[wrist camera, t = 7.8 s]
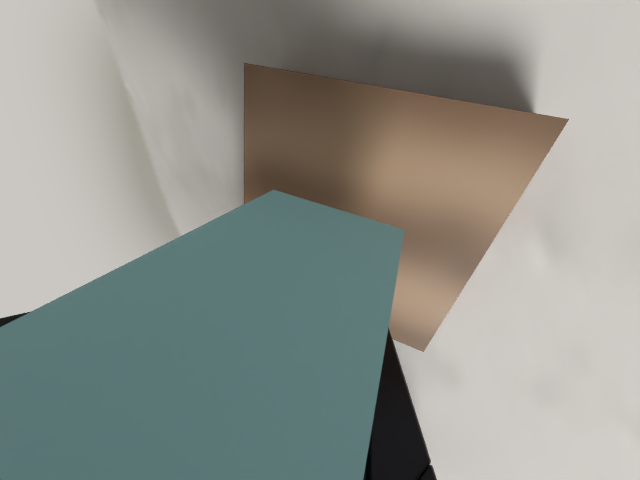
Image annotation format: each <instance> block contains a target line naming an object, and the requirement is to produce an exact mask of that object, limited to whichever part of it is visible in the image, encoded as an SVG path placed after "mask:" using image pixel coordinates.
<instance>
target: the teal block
mask: <svg viewBox="0 0 640 480" xmlns="http://www.w3.org/2000/svg"><path fill="white" fill-rule="evenodd" d="M404 231H405V230H404V229H401V228H397V227H394V226H391V225H387V224H384V223H381V222H378V221H374V220H371V219H368V218H365V217H361V216H358V215H355V214H351V213H348V212H345V211H342V210H338V209H335V208H332V207H329V206H325V205H322V204H319V203H315V202H312V201H309V200H306V199H302V198H299V197H296V196H293V195H289V194H286V193H283V192H279V191H276V190H272V191H270V192H268V193H266V194H264V195H262V196H260V197H258V198H256V199H254V200H252V201H250V202H248V203H246V204H244V205H242V206H240V207H238V208H236V209H234V210H232V211H230V212H228V213H226V214H224V215H222V216H220V217H218V218H216V219H214V220H212V221H210V222H208V223H206V224H204V225H203V226H201V227H199V228H197V229H195V230H193V231H191V232H189V233H187V234H185V235H183V236H181V237H179V238H177V239H175V240H173V241H171V242H169V243H167V244H165V245H163V246H161V247H159V248H157V249H155V250H153V251H151V252H149V253H147V254H145V255H143V256H141V257H139V258H137V259H135V260H133V261H131V262H129V263H127V264H125V265H123V266H121V267H119V268H117V269H115V270H113V271H111V272H109V273H107V274H105V275H103V276H101V277H99V278H97V279H95V280H93V281H91V282H89V283H87V284H85V285H83V286H81V287H79V288H78V289H75V290H73V291H72V292H70V293H68V294H65V295H63V296H61V297H59V298H58V299H56V300H54V301H52V302H50V303H48V304H46V305H44V306H42V307H40V308H38V309H36V310H34V311H32V312H30V313H28V314H26V315H24V316H22V317H20V318H18V319H16V320H14V321H12V322H10V323H8V324H6V325H4V326H2V327H0V479H1V480H363V478H364V472H365V466H366V460H367V454H368V448H369V442H370V436H371V430H372V424H373V418H374V412H375V406H376V400H377V394H378V388H379V382H380V376H381V370H382V364H383V358H384V352H385V346H386V340H387V334H388V328H389V322H390V316H391V310H392V304H393V298H394V292H395V286H396V279H397V273H398V267H399V261H400V255H401V249H402V243H403V237H404Z"/></svg>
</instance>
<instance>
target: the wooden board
mask: <svg viewBox="0 0 640 480" xmlns="http://www.w3.org/2000/svg"><path fill="white" fill-rule="evenodd" d="M568 120H569V119H564V118H559V117H553V116H547V115H541V114H536V113H530V112H524V111H518V110H513V109H507V108H501V107H495V106H489V105H484V104H478V103H472V102H466V101H461V100H455V99H449V98H443V97H438V96H432V95H426V94H420V93H414V92H409V91H403V90H397V89H391V88H386V87H380V86H374V85H368V84H363V83H357V82H351V81H345V80H339V79H334V78H328V77H322V76H316V75H311V74H305V73H299V72H293V71H288V70H282V69H276V68H270V67H264V66H259V65H253V64H247V63H244V204H246V203H248V202H250V201H252V200H254V199H256V198H258V197H260V196H262V195H264V194H266V193H268V192H270V191H272V190H276V191H279V192H283V193H286V194H289V195H293V196H296V197H299V198H302V199H306V200H309V201H312V202H315V203H319V204H322V205H325V206H329V207H332V208H335V209H338V210H342V211H345V212H348V213H351V214H355V215H358V216H361V217H365V218H368V219H371V220H374V221H378V222H381V223H384V224H387V225H391V226H394V227H397V228H401V229H404V230H405V231H404V237H403V243H402V249H401V255H400V261H399V267H398V273H397V279H396V286H395V292H394V298H393V304H392V310H391V316H390V322H389V330H390V333H391V336H392V339H394V340H396V341H399V342H401V343H404V344H406V345H408V346H411V347H413V348H416V349H418V350H420V351H423V352H424V350H425V349H426V347H427V345H428V344H429V342H430V341H431V339H432V337H433V336H434V334H435V333H436V331H437V329H438V328H439V326H440V325H441V323H442V321H443V320H444V318H445V317H446V315H447V313H448V312H449V310H450V309H451V307H452V305H453V304H454V302H455V301H456V299H457V297H458V296H459V294H460V293H461V291H462V289H463V288H464V286H465V285H466V283H467V281H468V280H469V278H470V277H471V275H472V273H473V272H474V270H475V269H476V267H477V266H478V264H479V262H480V261H481V259H482V258H483V256H484V254H485V253H486V251H487V250H488V248H489V246H490V245H491V243H492V242H493V240H494V238H495V237H496V235H497V234H498V232H499V230H500V229H501V227H502V226H503V224H504V222H505V221H506V219H507V218H508V216H509V214H510V213H511V211H512V210H513V208H514V206H515V205H516V203H517V202H518V200H519V198H520V197H521V195H522V194H523V192H524V190H525V189H526V187H527V186H528V184H529V182H530V181H531V179H532V178H533V176H534V174H535V173H536V171H537V170H538V168H539V166H540V165H541V163H542V162H543V160H544V158H545V157H546V155H547V154H548V152H549V150H550V149H551V147H552V146H553V144H554V142H555V141H556V139H557V138H558V136H559V134H560V133H561V131H562V130H563V128H564V126H565V125H566V123H567V122H568Z"/></svg>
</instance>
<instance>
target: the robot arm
mask: <svg viewBox="0 0 640 480" xmlns="http://www.w3.org/2000/svg"><path fill="white" fill-rule="evenodd" d="M28 313H30V312H27V313H23V314H18V315H14V316H10V317H5V318H0V327H2V326H4V325H6V324H8V323H10V322H12V321H14V320H16V319H18V318H20V317H22V316H24V315H26V314H28ZM430 463H431V460H430V457H429V454H428V450H427V447H426V444H425V441H424V438H423V435H422V431H421V428H420V425H419V422H418V419H417V416H416V412H415V409H414V406H413V403H412V400H411V396H410V393H409V390H408V387H407V384H406V381H405V377H404V374H403V371H402V368H401V365H400V362H399V358H398V355H397V352H396V349H395V346H394V342H393V339H392V336H391V333H390V330H389V328H388V334H387V340H386V346H385V352H384V358H383V364H382V370H381V376H380V382H379V388H378V394H377V400H376V406H375V412H374V418H373V424H372V430H371V436H370V442H369V448H368V454H367V460H366V466H365V472H364V478H363V480H437V479H436V475H435V472H434V469H433V467H432V465H429V464H430ZM0 480H1V479H0Z"/></svg>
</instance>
